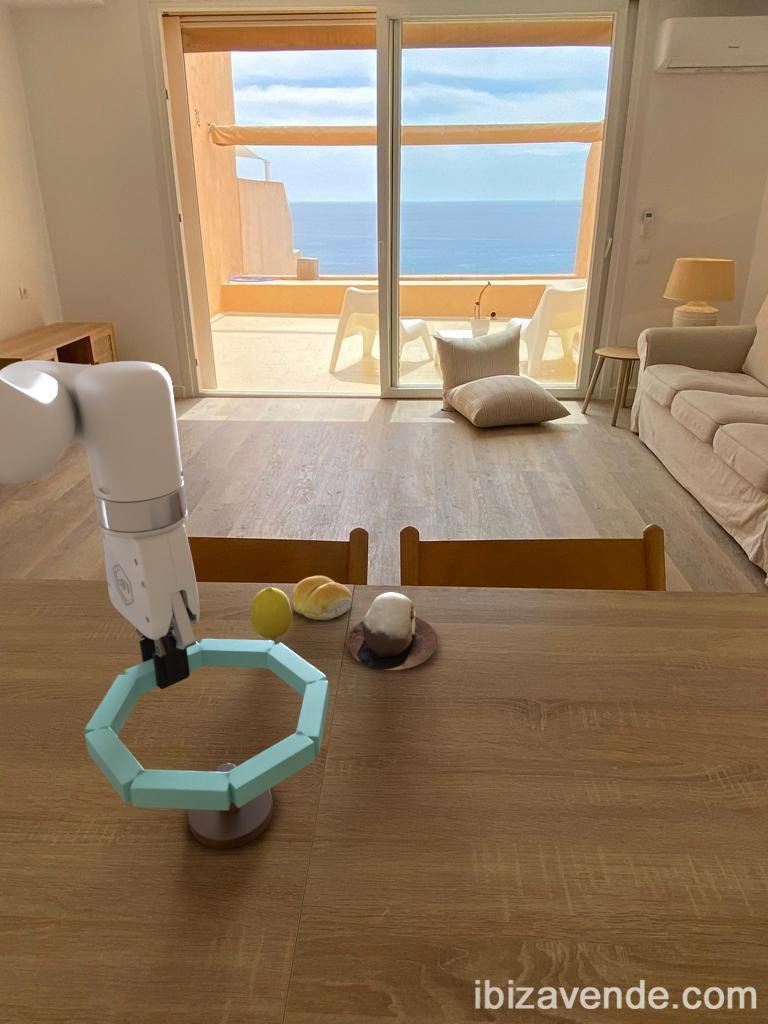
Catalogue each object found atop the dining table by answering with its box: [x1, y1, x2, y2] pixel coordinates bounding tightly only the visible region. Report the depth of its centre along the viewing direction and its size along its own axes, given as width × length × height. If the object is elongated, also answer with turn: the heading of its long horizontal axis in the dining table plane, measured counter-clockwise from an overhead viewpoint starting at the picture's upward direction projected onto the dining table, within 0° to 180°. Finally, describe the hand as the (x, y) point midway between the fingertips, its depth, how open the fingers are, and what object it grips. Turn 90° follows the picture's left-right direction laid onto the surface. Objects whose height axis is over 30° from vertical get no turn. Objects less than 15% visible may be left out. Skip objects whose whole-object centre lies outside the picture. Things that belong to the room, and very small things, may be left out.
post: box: [187, 762, 274, 850], centre depth 66 cm, size 8×8×6 cm
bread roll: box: [290, 575, 353, 621], centre depth 101 cm, size 8×9×4 cm
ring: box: [84, 638, 330, 810], centre depth 62 cm, size 20×20×2 cm
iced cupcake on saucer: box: [347, 591, 438, 671], centre depth 93 cm, size 12×10×10 cm
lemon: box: [249, 586, 293, 640], centre depth 93 cm, size 6×6×8 cm
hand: (167, 674), depth 69 cm, fingers closed on ring, 2 cm apart
